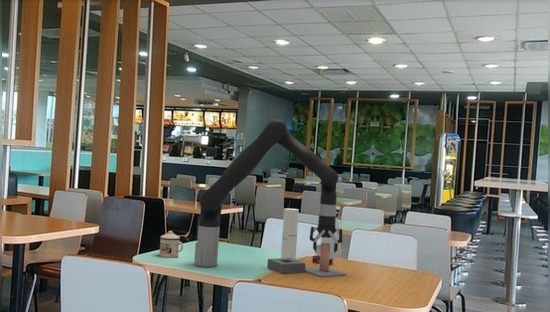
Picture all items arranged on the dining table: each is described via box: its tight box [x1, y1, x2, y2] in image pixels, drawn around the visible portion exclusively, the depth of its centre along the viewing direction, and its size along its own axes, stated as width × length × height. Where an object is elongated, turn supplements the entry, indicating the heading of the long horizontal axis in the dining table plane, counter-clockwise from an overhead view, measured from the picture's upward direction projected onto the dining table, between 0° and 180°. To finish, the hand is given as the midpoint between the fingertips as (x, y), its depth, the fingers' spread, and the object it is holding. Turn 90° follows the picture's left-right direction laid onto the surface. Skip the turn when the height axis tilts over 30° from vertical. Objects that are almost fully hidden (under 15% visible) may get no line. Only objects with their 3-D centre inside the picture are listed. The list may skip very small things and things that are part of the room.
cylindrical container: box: [280, 207, 300, 260], centre depth 245 cm, size 7×7×25 cm
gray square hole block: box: [266, 257, 306, 275], centre depth 223 cm, size 12×12×4 cm
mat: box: [305, 266, 347, 278], centre depth 223 cm, size 14×14×1 cm
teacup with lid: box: [159, 230, 184, 259], centre depth 237 cm, size 12×9×12 cm
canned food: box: [311, 244, 334, 266], centre depth 245 cm, size 11×10×10 cm
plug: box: [319, 242, 331, 272], centre depth 223 cm, size 4×4×12 cm
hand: (325, 251), depth 223 cm, fingers open, 8 cm apart
